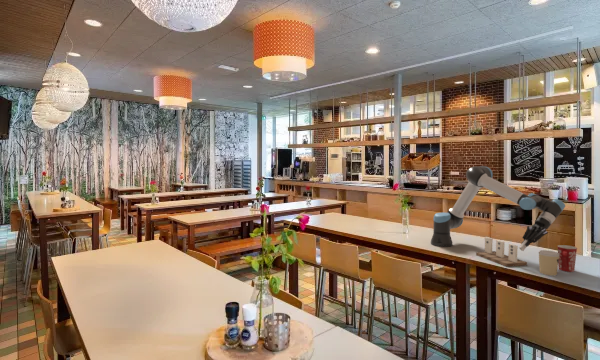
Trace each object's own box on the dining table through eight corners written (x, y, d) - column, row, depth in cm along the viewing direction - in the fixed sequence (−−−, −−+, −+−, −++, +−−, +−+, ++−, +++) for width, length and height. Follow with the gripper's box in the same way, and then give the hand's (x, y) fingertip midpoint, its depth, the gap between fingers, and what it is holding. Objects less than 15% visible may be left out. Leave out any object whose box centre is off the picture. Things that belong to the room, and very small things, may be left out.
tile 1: (484, 251, 229) (484, 236, 229) (486, 251, 229) (486, 236, 229) (489, 253, 224) (490, 238, 224) (492, 253, 225) (492, 238, 224)
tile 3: (507, 260, 210) (508, 244, 209) (510, 259, 210) (510, 243, 209) (514, 262, 205) (514, 246, 204) (517, 262, 205) (517, 245, 204)
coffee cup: (562, 276, 186) (563, 255, 185) (542, 275, 187) (543, 254, 187) (553, 271, 195) (553, 250, 194) (534, 270, 197) (535, 249, 196)
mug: (558, 266, 203) (559, 244, 203) (577, 270, 196) (578, 247, 196) (552, 271, 195) (553, 247, 194) (572, 275, 188) (573, 250, 187)
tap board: (476, 255, 229) (476, 252, 229) (494, 253, 231) (494, 251, 231) (506, 266, 203) (506, 263, 203) (526, 265, 206) (526, 262, 206)
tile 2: (495, 255, 219) (495, 240, 219) (497, 255, 220) (498, 240, 219) (501, 257, 214) (501, 242, 214) (504, 257, 215) (504, 241, 214)
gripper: (558, 226, 204) (533, 256, 202) (538, 223, 217) (515, 250, 215) (551, 218, 203) (526, 247, 201) (531, 215, 216) (508, 242, 213)
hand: (520, 249), depth 208 cm, fingers closed
